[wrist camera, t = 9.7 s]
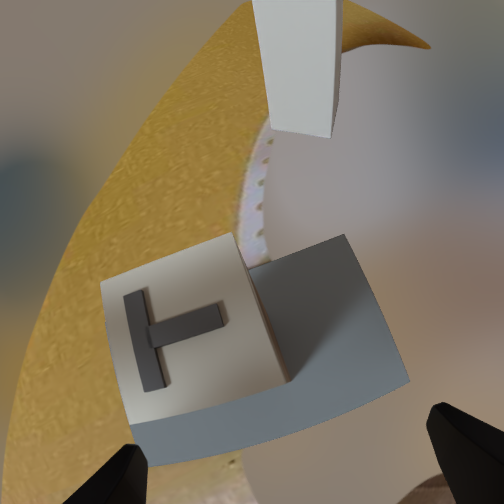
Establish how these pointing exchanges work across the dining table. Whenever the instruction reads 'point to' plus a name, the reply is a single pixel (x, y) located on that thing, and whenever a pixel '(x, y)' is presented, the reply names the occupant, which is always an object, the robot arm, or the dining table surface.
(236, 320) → the marked block
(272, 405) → the mat
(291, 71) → the milk
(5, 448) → the dining table surface
